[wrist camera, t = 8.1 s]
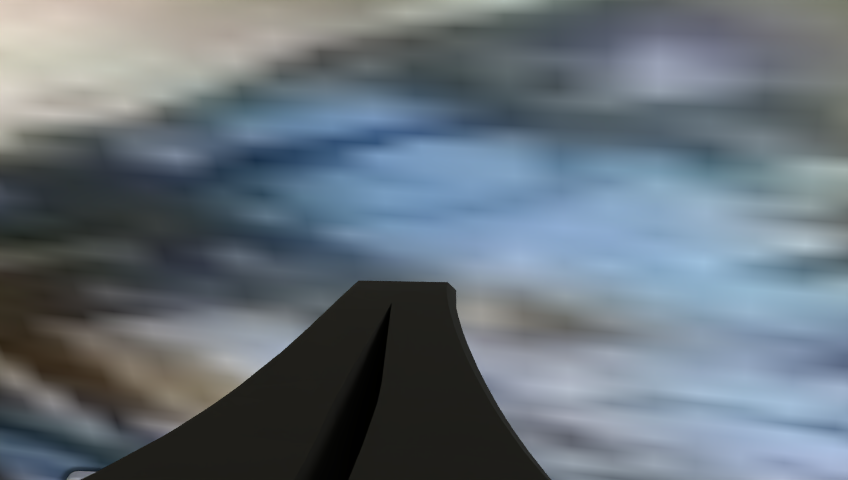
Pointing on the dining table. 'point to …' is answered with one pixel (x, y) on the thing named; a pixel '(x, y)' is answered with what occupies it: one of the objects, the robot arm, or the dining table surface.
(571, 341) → the dining table surface
